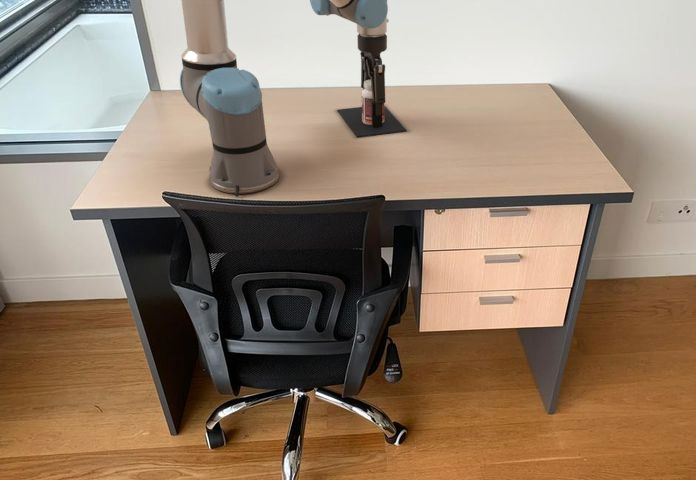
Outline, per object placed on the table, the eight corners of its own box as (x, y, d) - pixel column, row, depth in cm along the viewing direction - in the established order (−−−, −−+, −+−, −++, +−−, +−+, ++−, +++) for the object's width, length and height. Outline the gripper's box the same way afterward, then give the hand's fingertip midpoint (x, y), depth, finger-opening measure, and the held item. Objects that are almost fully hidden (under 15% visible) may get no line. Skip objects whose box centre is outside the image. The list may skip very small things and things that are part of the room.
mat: (406, 131, 158) (406, 129, 158) (356, 137, 154) (356, 136, 154) (383, 105, 173) (383, 104, 173) (337, 110, 170) (337, 109, 169)
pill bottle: (389, 122, 162) (389, 82, 156) (372, 128, 159) (372, 87, 152) (374, 116, 166) (373, 76, 159) (357, 121, 162) (356, 81, 156)
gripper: (399, 42, 142) (397, 132, 156) (374, 23, 157) (375, 107, 171) (369, 45, 140) (370, 136, 154) (347, 25, 155) (350, 110, 168)
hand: (373, 120), depth 162 cm, fingers open, 7 cm apart
